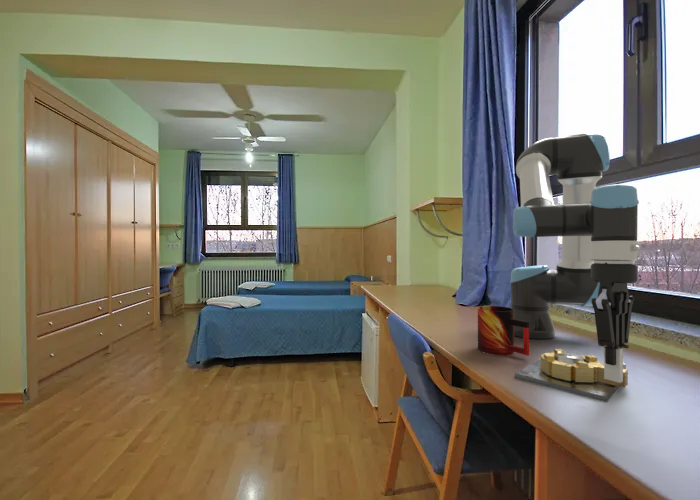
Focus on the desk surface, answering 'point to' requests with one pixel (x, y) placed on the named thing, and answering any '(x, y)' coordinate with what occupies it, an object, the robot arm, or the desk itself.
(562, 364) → the octagonal block ring
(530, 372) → the grey base plate
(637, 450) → the desk surface
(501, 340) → the mug
